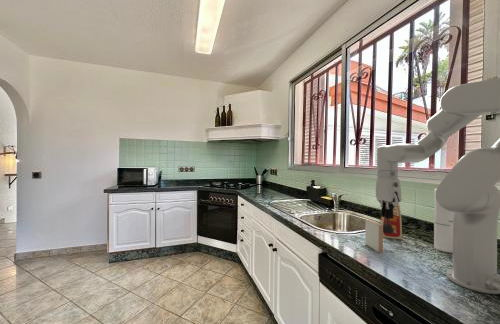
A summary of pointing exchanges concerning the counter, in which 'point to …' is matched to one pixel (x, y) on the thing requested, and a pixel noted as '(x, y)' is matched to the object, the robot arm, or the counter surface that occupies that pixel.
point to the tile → (374, 235)
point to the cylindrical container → (443, 227)
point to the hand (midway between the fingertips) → (387, 217)
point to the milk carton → (394, 224)
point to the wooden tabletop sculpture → (387, 225)
